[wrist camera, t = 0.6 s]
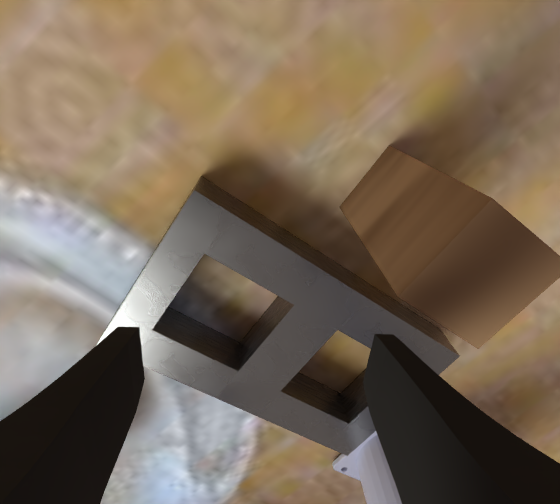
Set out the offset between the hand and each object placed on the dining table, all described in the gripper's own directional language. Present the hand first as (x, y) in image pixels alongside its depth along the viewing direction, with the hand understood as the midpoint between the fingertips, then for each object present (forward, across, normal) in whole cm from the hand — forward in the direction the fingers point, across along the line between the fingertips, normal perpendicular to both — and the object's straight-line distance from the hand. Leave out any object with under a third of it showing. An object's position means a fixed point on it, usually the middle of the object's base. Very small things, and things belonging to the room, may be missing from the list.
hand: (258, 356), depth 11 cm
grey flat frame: (+10, -2, +6) cm, 12 cm away
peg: (+10, -7, -2) cm, 12 cm away
